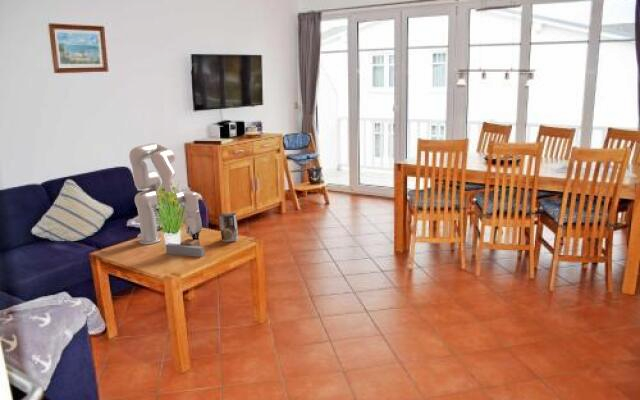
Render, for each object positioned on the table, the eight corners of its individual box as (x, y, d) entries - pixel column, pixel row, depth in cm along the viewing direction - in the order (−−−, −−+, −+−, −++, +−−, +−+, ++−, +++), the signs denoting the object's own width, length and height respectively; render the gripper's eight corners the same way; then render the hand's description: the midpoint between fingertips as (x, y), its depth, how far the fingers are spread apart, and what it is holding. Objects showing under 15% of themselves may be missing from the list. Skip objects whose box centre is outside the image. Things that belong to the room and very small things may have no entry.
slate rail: (166, 253, 310) (165, 244, 308) (169, 251, 312) (168, 243, 311) (201, 257, 300) (200, 248, 299) (204, 255, 303) (203, 246, 302)
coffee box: (238, 238, 330) (236, 212, 326) (236, 241, 323) (233, 215, 319) (224, 238, 331) (221, 213, 327) (221, 241, 324) (218, 216, 320)
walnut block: (181, 252, 309) (180, 242, 308) (188, 248, 315) (187, 238, 314) (193, 253, 306) (191, 243, 305) (200, 249, 312) (199, 239, 311)
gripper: (194, 209, 319) (198, 239, 323) (179, 216, 305) (183, 247, 310) (205, 210, 316) (208, 240, 321) (190, 217, 303) (194, 248, 307)
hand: (196, 243), depth 315 cm, fingers closed
